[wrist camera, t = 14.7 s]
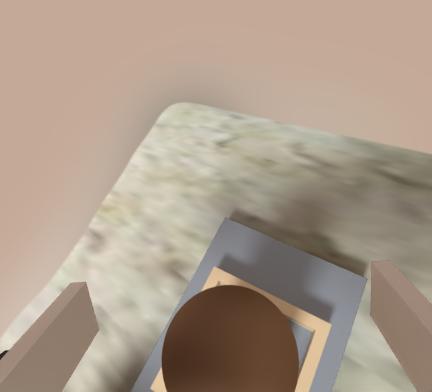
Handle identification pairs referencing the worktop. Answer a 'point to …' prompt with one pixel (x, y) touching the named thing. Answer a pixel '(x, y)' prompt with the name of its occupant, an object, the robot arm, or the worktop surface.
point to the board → (278, 300)
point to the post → (230, 344)
